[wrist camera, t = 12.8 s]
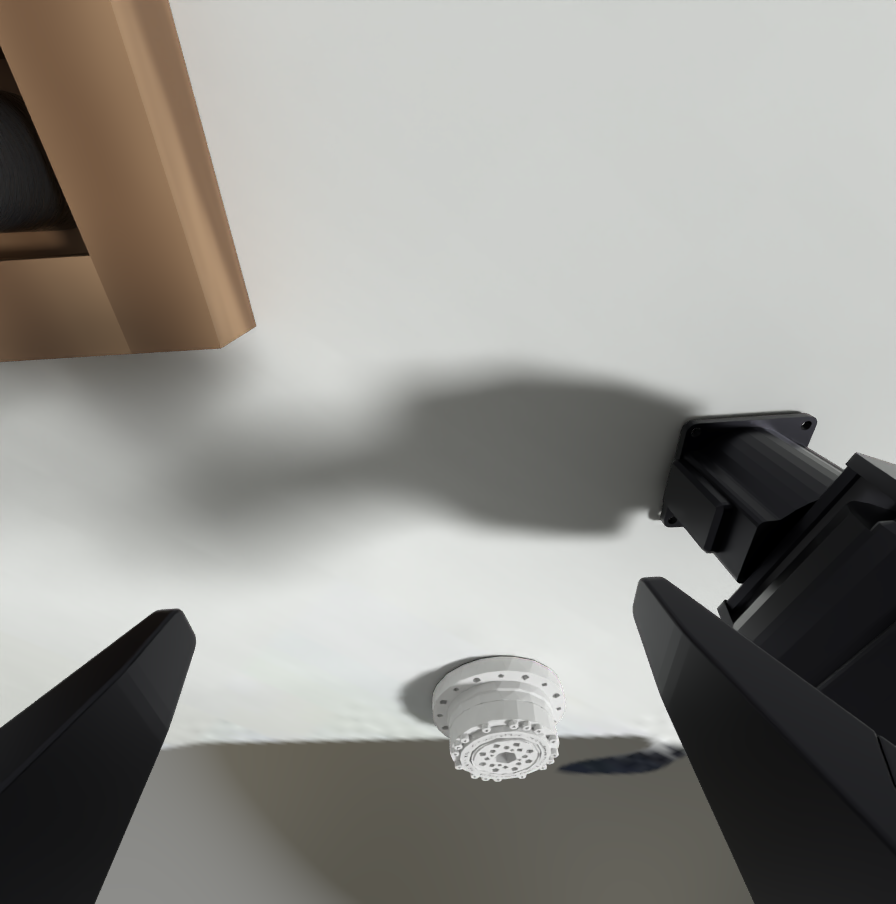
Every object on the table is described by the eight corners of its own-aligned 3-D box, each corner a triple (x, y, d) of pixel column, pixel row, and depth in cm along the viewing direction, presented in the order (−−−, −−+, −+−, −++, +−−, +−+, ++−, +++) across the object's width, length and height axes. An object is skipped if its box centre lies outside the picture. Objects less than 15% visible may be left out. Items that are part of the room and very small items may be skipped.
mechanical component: (585, 666, 31) (459, 640, 29) (606, 730, 27) (464, 704, 25) (526, 737, 36) (415, 718, 34) (538, 800, 32) (412, 782, 30)
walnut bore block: (143, -92, 12) (48, -193, 9) (256, 326, 18) (220, 348, 15) (-271, -69, 12) (-504, -163, 9) (-23, 343, 18) (-115, 368, 15)
